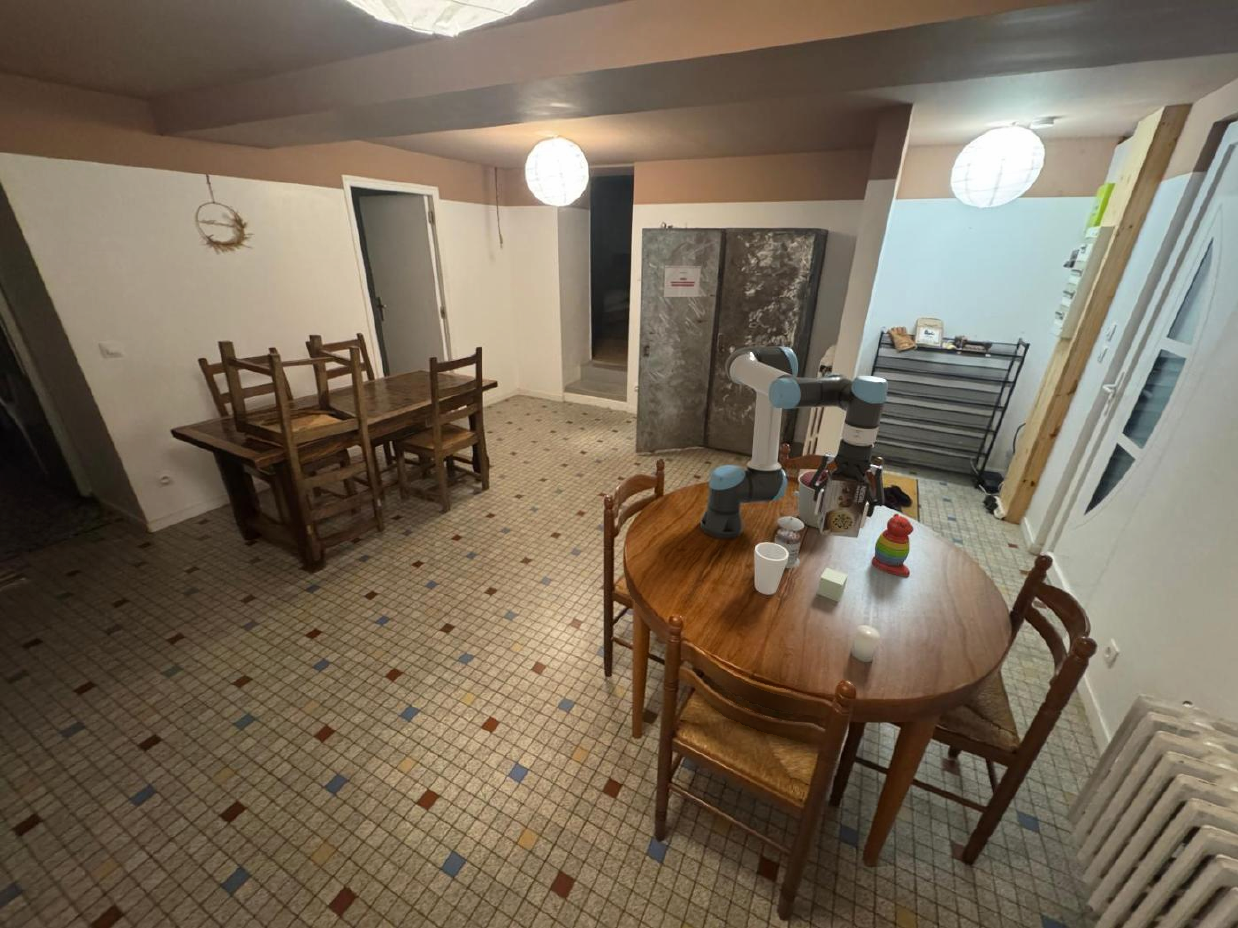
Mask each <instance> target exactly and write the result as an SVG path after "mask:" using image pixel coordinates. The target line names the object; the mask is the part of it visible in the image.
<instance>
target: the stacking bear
mask: <svg viewBox="0 0 1238 928" xmlns="http://www.w3.org/2000/svg"><path fill="white" fill-rule="evenodd" d="M914 529H915V528H914V526H913V525H912V524H911V522H910V521H909V520H908V518H906V517H905V516H902V515H901V516H900V515H899V513H894V514H893V516H892V517H890V518H889V519H888V520H887V523H886V529H885V530H883V531H882V532H881V533H880V535H879V536H878V538H877V539H876V541H875V547H874V556H872V559H871V562H872V564H873V566H875V567H876V568H877V569H879V570H880V571H883V572H884V573H888V574H891V575H894V576H899V577H908V576H910V574H911V572H910V569H909V568H908V567H907V566H906V565H905V561H906V559H907V558H908V556H909V555H910V554H909V553H910V551H911V550H910V549H911V548H910V545H911V544H910V543H911V541H910V537H909V536H910V535H911V534H912V533H913V532H914Z"/></svg>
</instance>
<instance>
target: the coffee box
mask: <svg viewBox="0 0 1238 928" xmlns="http://www.w3.org/2000/svg"><path fill="white" fill-rule="evenodd" d="M827 470H828V472H827V477H828V481H827V485H825V487H824V492H823V497H822V502H821V507H820V512H819V517H818V522H817V523H818V526H819V528H818V529H819V532H820V534H821V535H826V536H833V537H835V536H836V537H846V538H856V539H857V538H858V537H859V534H860V530H861V528H860V524H861V520H862V516H863V512H864V508H865V505H866V503H867V499H866V496H865V491H866V487H867V488H868V489H869V487H871V482H870V480H869V479H868V477H867V480H866V481H865V482H860V481H858V479H857V477H855V478H853V477H850V476H845V475H842V474H841V473H839V474H838V475H834V474H832V473H833V471H834V470H835V469H827ZM827 477H826V478H827Z"/></svg>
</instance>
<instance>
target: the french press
mask: <svg viewBox="0 0 1238 928" xmlns="http://www.w3.org/2000/svg"><path fill="white" fill-rule="evenodd" d="M792 495H793V496H794V501H793V506H792V512H791V516H782V517H778V519H777V524H778V525H779V527H780V528H779V529H778V530H776V534H775V536H774V542H773V543H775V544H778V545H781V546H782V547H784V548H785V549H786V550H787V551H788V553H789V555H788V561H787V564H786V566H785V568H786V569H792V568H796V567H798V566H799V565H800V564H801V563H800V559H799V558H798V557H799V552H800V547H801V542H802V540H801V534H800V533H799V531H801V530H803V529H804V527H805V523H804V522H802V521H801V519H800V518H797V517H793V515H794V508H795V503H796V498H797V497H798V496H799V490H798V491H797V490H796V491H793V492H792ZM788 541H789V543H788ZM785 568H784V569H785Z"/></svg>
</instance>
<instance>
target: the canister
mask: <svg viewBox="0 0 1238 928" xmlns="http://www.w3.org/2000/svg"><path fill="white" fill-rule="evenodd" d="M828 470H829V469H825V470H824V471H823V473H822V474H821V476H820V477H819V479H818V480H817V482H816V483H818V484H820V483H821V482H822V481H823V480H824V479H825V478H826V477H827V472H828ZM816 472H817V470H814V471H808V472H804V473H801V474H800V475H799V476H798V477H797V482H798V492H799V496H797V498H798V499H797V500H798V501H797V515H798V519H799V520H800V521H802V522H803V524H804V525H807V526H808V527H812V528H815V529H819V526H818V523H817V522H818V517H819V513H818V515H816V514H814V513H815V509H816V504H817V502H816V501H814V500H813V498H814V493H815V489H814V488H812V487H809V483H810V481H811V480H812V478H813V476H814V475H815V473H816ZM824 487H825V486H824ZM824 487H823V488H822V489H824Z"/></svg>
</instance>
